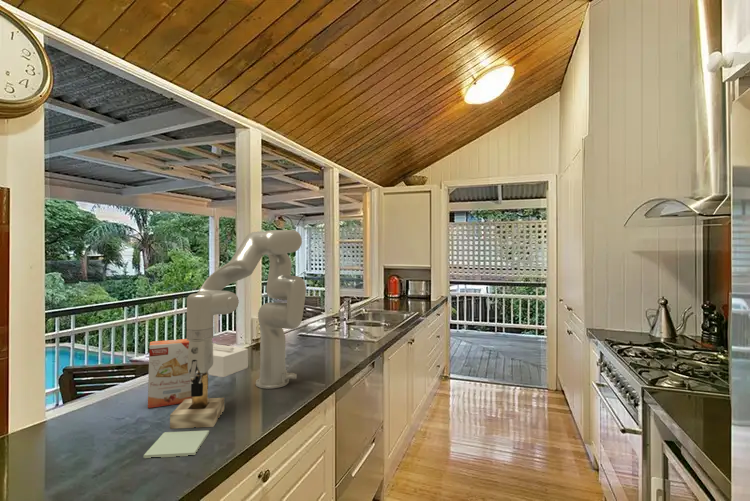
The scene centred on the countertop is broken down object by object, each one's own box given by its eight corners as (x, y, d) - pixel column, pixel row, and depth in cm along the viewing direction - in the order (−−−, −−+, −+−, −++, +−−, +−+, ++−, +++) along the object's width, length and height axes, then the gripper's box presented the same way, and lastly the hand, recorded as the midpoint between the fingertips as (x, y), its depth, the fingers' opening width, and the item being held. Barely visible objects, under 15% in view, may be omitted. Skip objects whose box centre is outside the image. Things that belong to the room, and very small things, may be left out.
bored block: (224, 409, 123) (224, 397, 123) (213, 426, 111) (213, 413, 111) (185, 411, 122) (185, 398, 122) (169, 428, 110) (170, 414, 110)
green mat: (209, 433, 107) (209, 430, 107) (194, 455, 96) (194, 452, 96) (164, 435, 106) (164, 432, 106) (143, 458, 94) (143, 455, 94)
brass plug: (209, 404, 119) (209, 373, 119) (205, 410, 115) (205, 377, 115) (194, 405, 119) (194, 373, 119) (189, 411, 114) (189, 378, 114)
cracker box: (147, 409, 123) (148, 344, 123) (148, 402, 128) (149, 340, 128) (195, 402, 129) (196, 340, 129) (194, 396, 135) (195, 337, 135)
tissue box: (205, 361, 178) (206, 338, 178) (247, 368, 169) (248, 343, 169) (179, 369, 165) (179, 344, 165) (223, 378, 155) (223, 351, 155)
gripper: (204, 339, 109) (203, 403, 109) (220, 327, 126) (220, 382, 126) (176, 340, 108) (176, 404, 108) (196, 328, 125) (196, 383, 125)
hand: (199, 392), depth 117 cm, fingers closed on brass plug, 4 cm apart
